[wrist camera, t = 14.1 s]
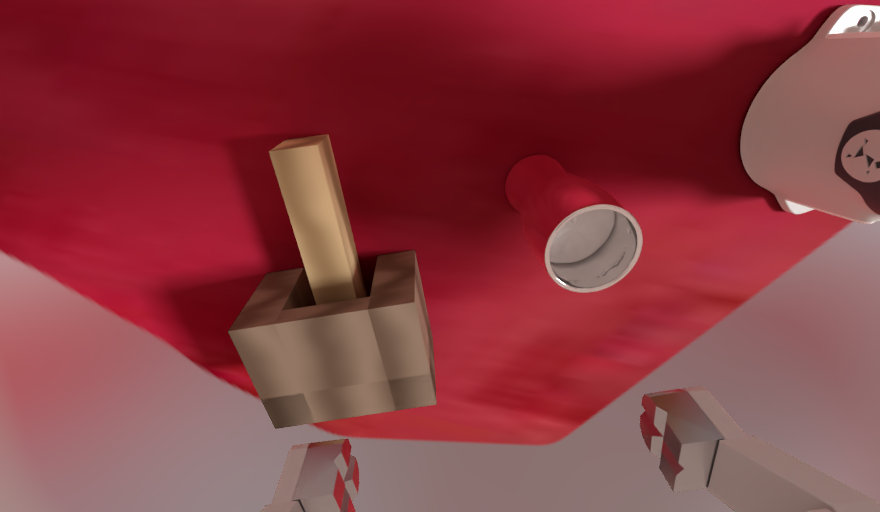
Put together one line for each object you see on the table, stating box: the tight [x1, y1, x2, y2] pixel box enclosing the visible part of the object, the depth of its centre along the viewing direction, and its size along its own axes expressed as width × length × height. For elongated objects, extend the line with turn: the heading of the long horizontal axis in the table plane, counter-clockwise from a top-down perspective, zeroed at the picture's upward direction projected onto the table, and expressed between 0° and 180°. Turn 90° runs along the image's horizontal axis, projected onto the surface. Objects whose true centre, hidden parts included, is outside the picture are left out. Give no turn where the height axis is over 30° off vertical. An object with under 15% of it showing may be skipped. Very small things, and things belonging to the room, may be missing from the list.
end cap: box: [228, 250, 437, 428], centre depth 41 cm, size 16×12×10 cm
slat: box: [269, 134, 367, 305], centre depth 39 cm, size 4×18×5 cm, turn 7°
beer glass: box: [505, 154, 642, 293], centre depth 34 cm, size 7×7×15 cm
